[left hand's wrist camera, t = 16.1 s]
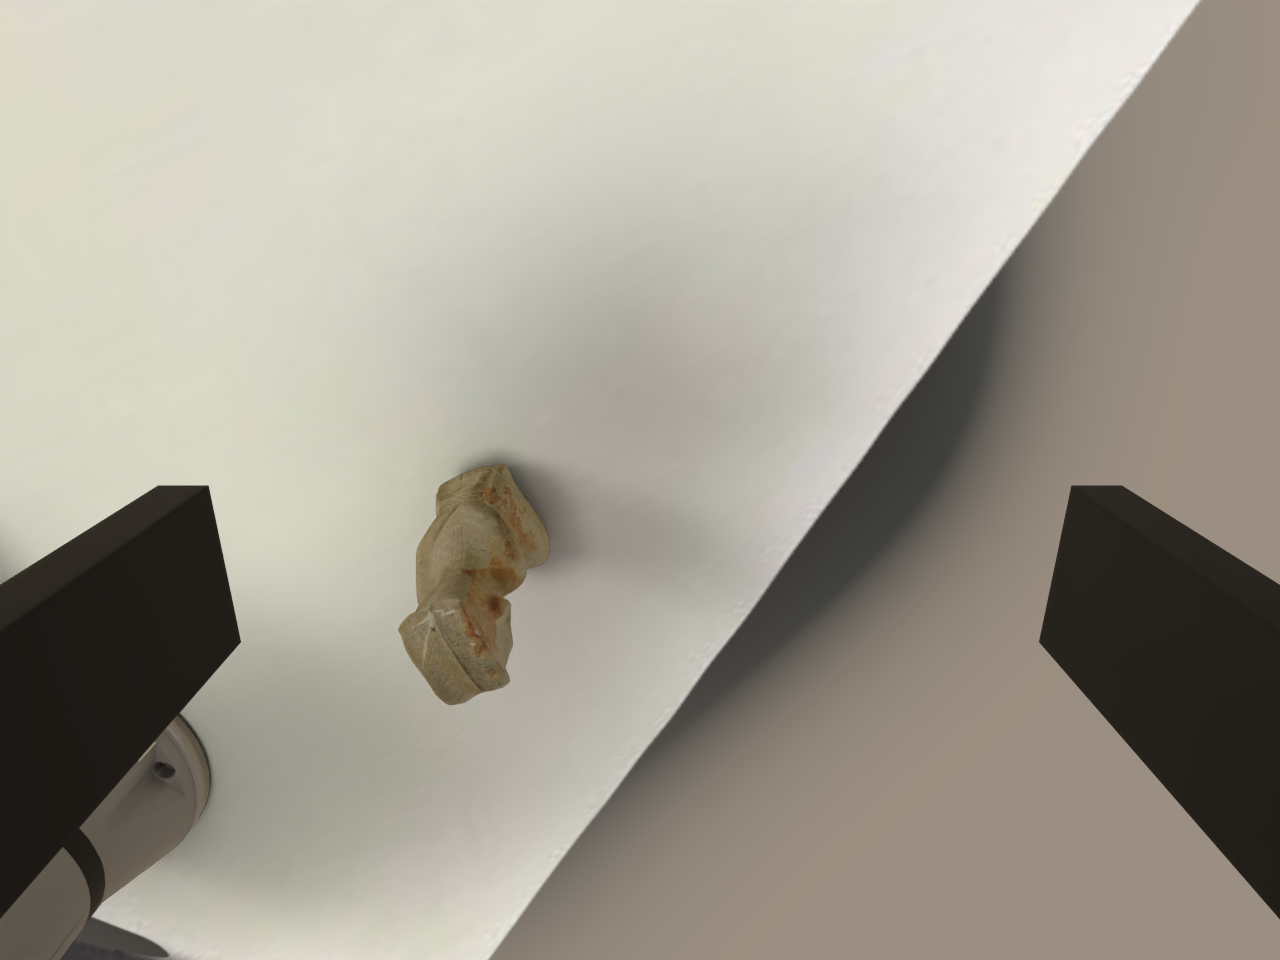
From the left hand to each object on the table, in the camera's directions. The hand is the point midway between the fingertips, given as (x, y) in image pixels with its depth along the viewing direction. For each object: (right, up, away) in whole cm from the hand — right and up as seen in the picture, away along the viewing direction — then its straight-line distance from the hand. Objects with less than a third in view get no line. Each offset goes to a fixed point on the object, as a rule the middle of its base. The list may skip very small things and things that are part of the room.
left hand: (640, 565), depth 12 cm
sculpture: (-8, 0, +35) cm, 36 cm away
